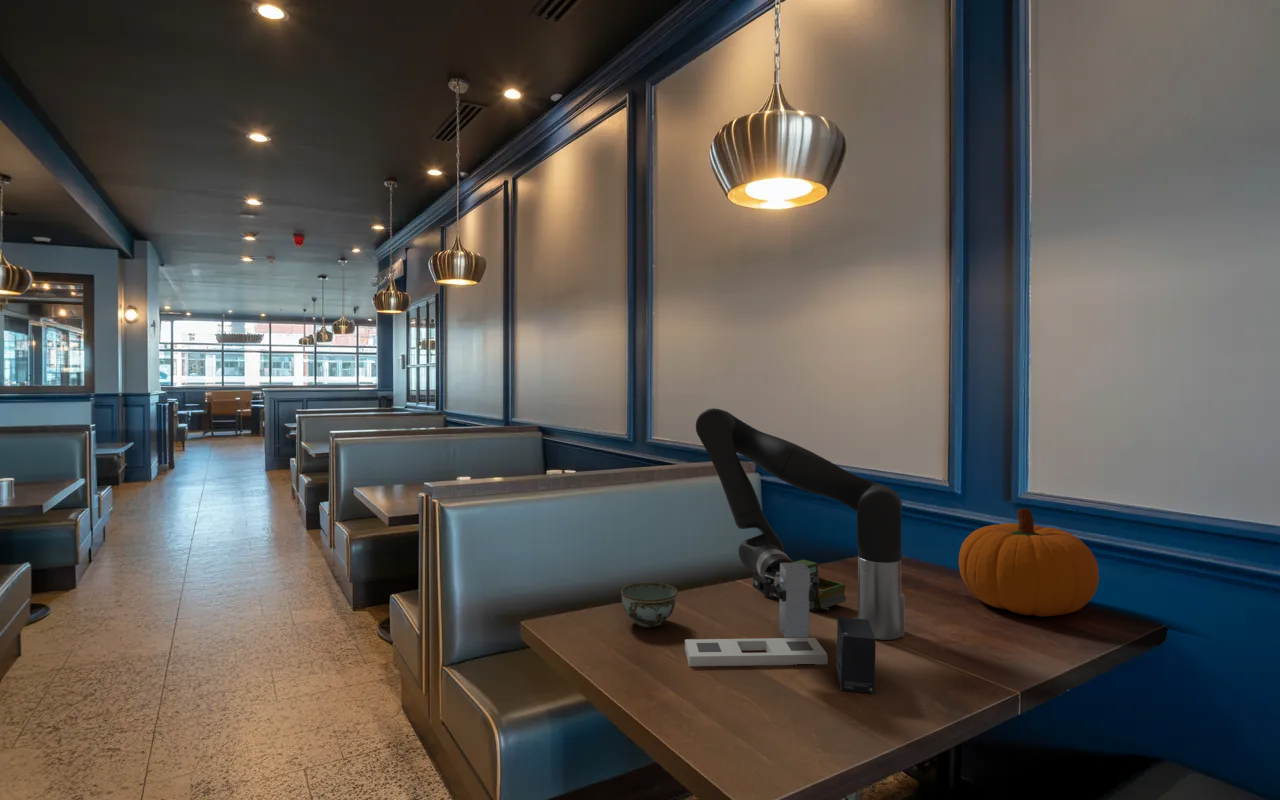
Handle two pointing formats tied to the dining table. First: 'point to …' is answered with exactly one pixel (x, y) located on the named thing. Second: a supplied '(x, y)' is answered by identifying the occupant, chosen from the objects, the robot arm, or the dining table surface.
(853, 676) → the small box
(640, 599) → the bowl
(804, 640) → the white slotted plate
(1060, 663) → the dining table surface
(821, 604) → the toy truck
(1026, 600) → the decorative pumpkin
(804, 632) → the brushed metal pillar
